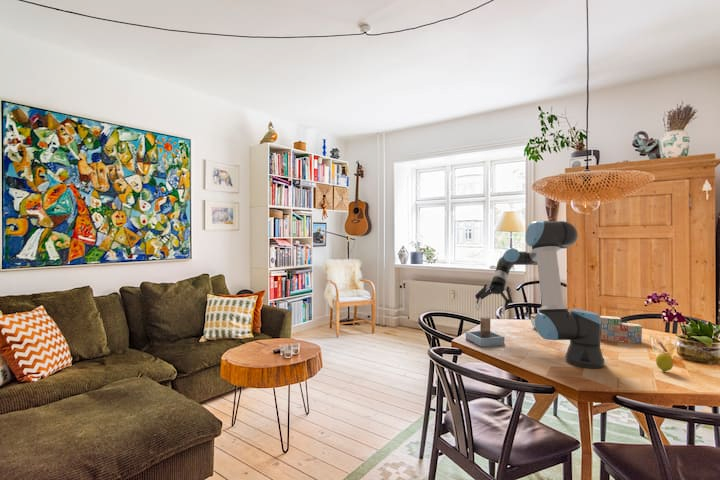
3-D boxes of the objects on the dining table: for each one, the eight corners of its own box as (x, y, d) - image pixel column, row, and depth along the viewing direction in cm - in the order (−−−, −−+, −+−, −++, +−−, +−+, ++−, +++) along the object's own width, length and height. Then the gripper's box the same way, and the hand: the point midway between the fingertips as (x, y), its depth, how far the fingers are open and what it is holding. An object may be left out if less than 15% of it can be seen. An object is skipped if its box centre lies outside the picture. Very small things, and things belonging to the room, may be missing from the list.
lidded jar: (526, 327, 233) (526, 312, 233) (538, 325, 238) (538, 310, 238) (542, 331, 223) (542, 315, 223) (553, 329, 228) (554, 313, 228)
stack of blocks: (638, 341, 205) (638, 318, 205) (641, 344, 200) (642, 320, 199) (592, 336, 214) (592, 314, 213) (594, 339, 208) (594, 317, 208)
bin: (504, 344, 198) (504, 336, 198) (480, 346, 194) (480, 338, 194) (487, 337, 211) (488, 329, 211) (465, 339, 207) (465, 331, 207)
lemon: (654, 371, 160) (655, 352, 160) (657, 368, 164) (657, 349, 164) (671, 375, 156) (672, 355, 156) (673, 371, 160) (674, 352, 160)
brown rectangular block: (492, 341, 201) (492, 318, 200) (483, 342, 199) (484, 319, 199) (486, 339, 205) (486, 316, 205) (478, 339, 204) (478, 317, 204)
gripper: (523, 286, 213) (515, 317, 202) (479, 282, 229) (469, 311, 217) (520, 277, 209) (512, 309, 198) (476, 274, 225) (465, 303, 213)
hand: (489, 310), depth 208 cm, fingers open, 13 cm apart
